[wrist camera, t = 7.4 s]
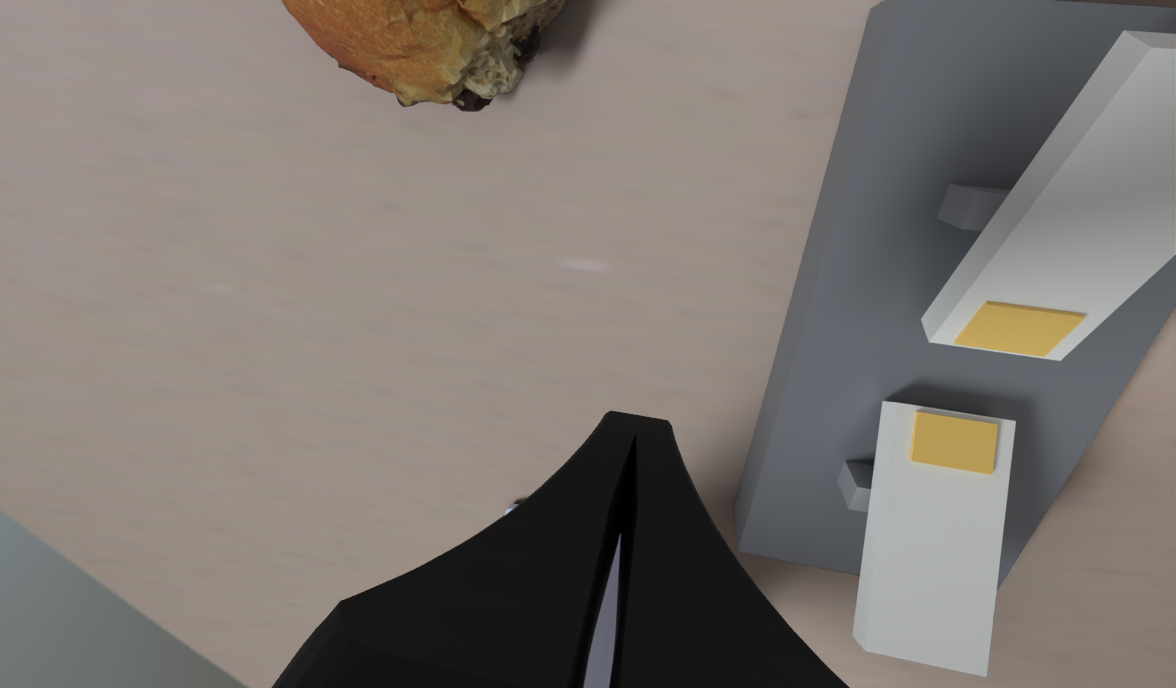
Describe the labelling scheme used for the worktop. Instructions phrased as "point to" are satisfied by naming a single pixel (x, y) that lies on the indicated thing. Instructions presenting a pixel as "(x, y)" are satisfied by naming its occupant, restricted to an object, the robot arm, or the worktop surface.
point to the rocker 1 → (934, 536)
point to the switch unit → (932, 272)
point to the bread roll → (430, 44)
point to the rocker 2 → (1076, 216)
